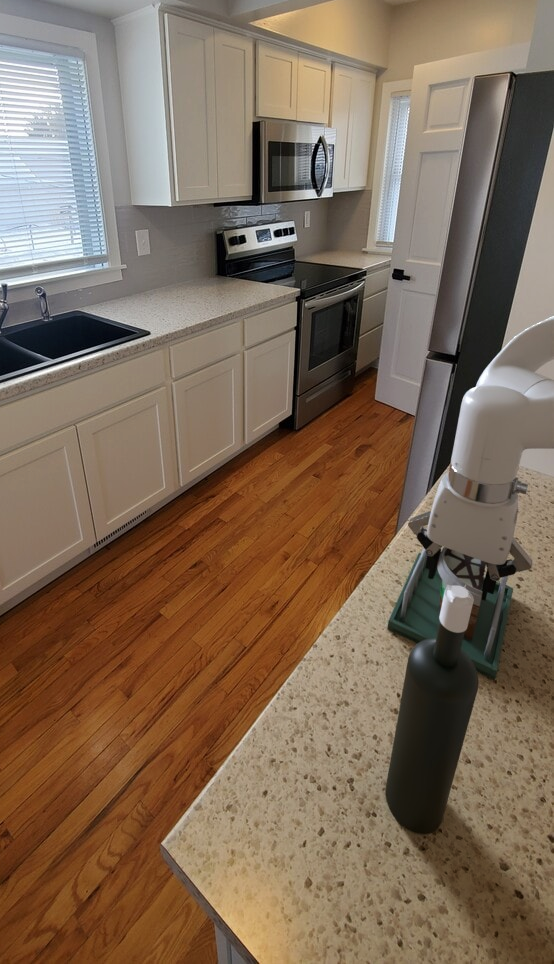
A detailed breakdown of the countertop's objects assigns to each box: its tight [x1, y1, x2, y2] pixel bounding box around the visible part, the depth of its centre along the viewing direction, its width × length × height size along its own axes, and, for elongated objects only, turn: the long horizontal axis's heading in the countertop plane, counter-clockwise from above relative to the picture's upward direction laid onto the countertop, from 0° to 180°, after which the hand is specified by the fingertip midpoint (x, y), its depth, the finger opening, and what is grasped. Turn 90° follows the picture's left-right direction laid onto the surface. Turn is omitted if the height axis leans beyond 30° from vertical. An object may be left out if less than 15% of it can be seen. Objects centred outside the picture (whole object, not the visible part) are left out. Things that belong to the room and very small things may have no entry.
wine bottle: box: [384, 584, 479, 835], centre depth 45 cm, size 6×6×30 cm
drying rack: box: [386, 547, 514, 681], centre depth 71 cm, size 14×16×7 cm
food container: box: [437, 547, 487, 641], centre depth 70 cm, size 12×6×10 cm, turn 149°
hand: (458, 582), depth 70 cm, fingers closed on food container, 6 cm apart
